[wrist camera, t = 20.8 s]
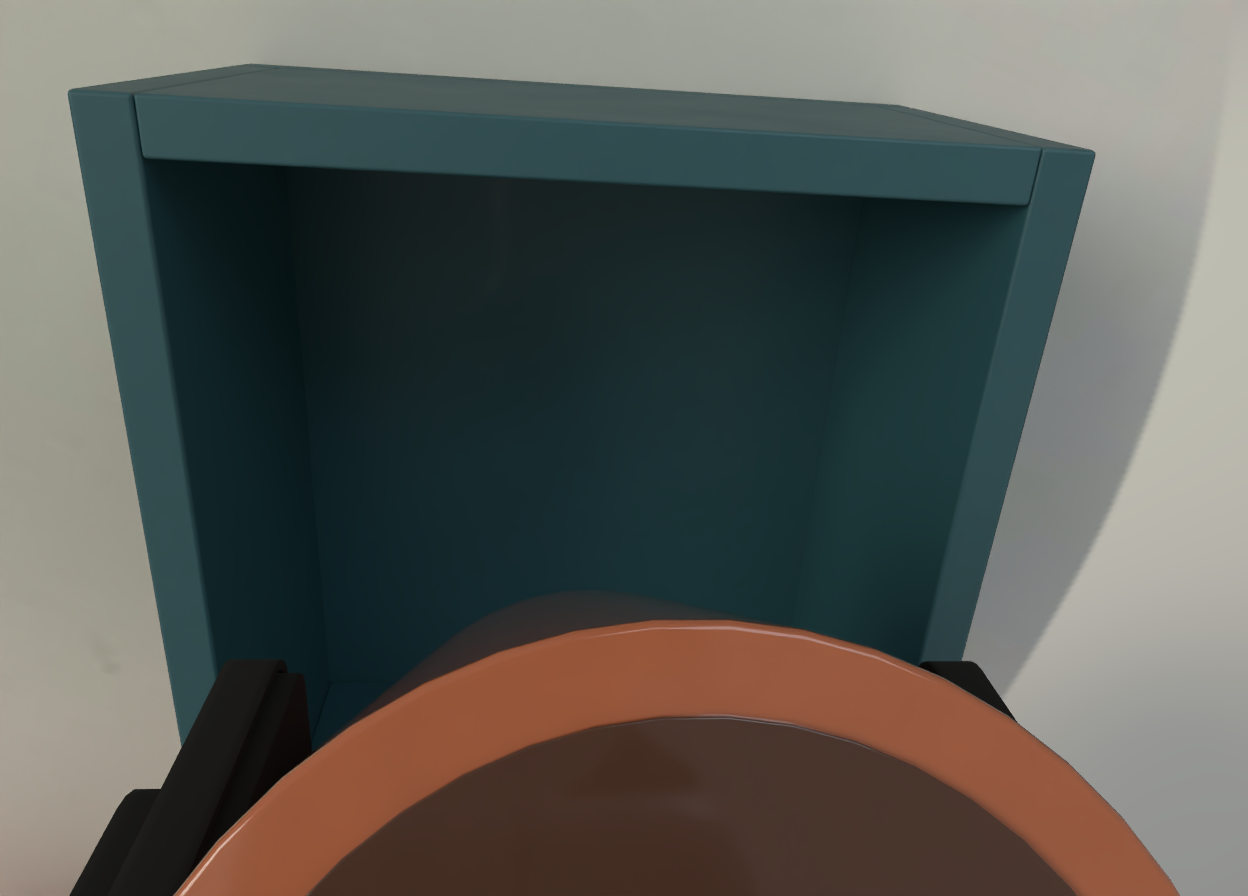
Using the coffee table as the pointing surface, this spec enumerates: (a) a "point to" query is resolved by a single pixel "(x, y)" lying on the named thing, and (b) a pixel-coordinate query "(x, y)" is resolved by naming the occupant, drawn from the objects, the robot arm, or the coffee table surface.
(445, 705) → the cup
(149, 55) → the coffee table surface
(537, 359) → the cool box
